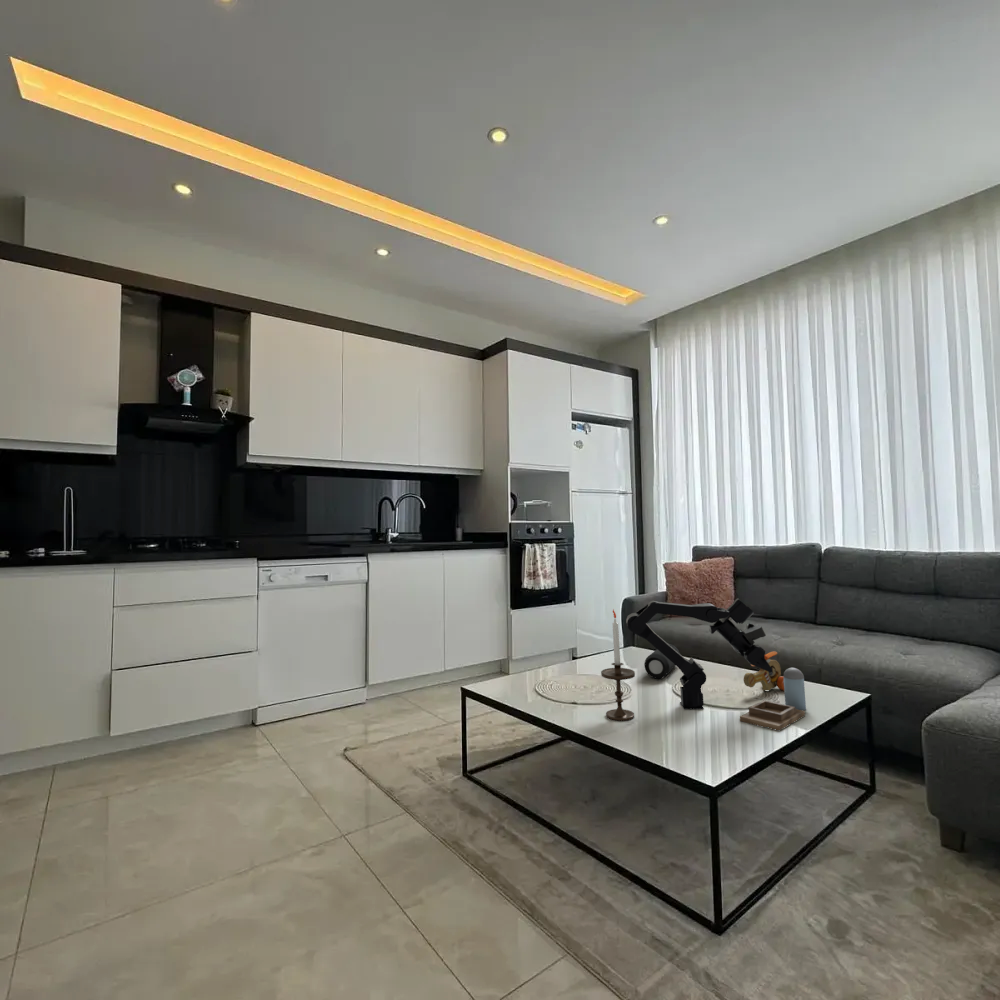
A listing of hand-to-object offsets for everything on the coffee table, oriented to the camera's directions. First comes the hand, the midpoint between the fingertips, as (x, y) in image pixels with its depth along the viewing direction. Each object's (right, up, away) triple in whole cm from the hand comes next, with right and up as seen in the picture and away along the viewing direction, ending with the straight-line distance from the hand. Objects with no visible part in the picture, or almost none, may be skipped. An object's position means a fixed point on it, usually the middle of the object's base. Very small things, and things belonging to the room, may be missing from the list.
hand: (767, 667), depth 185 cm
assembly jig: (-3, -13, -11) cm, 17 cm away
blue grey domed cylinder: (+8, -13, -2) cm, 15 cm away
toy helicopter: (+7, -14, +16) cm, 23 cm away
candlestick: (-50, -15, -3) cm, 52 cm away
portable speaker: (-21, -17, +47) cm, 54 cm away
